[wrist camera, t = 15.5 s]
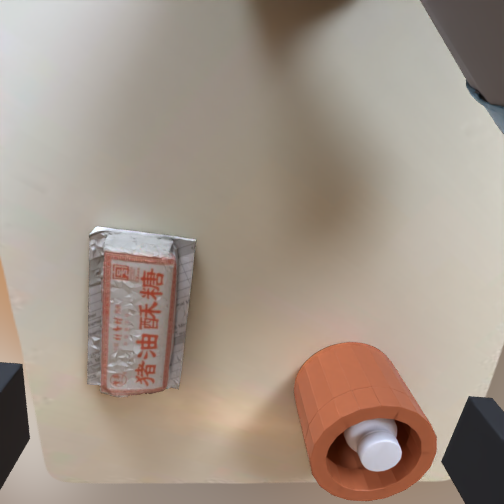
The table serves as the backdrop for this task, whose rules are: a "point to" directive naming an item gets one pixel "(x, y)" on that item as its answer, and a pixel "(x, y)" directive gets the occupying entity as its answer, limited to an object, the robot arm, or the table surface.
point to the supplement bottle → (375, 443)
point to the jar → (359, 420)
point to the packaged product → (137, 310)
